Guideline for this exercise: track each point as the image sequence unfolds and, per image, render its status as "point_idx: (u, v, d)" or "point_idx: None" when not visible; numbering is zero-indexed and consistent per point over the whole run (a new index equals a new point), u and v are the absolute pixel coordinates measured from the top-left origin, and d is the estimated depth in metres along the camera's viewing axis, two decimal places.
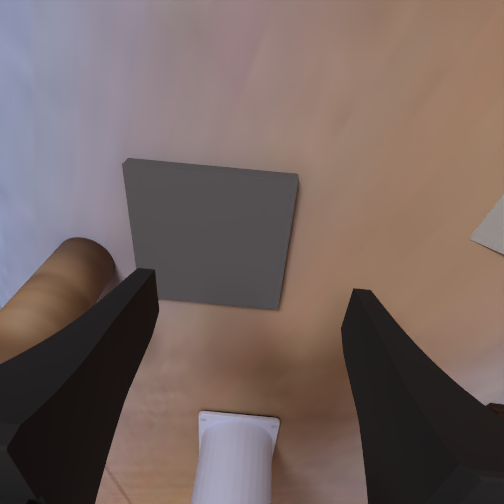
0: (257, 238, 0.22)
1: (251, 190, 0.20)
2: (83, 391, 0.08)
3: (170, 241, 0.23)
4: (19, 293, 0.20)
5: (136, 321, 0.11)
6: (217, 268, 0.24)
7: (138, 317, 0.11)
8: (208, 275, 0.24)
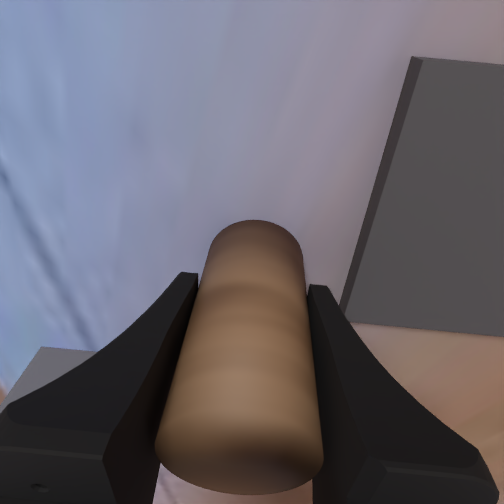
0: None
1: None
2: (149, 398, 0.08)
3: (444, 225, 0.12)
4: (217, 329, 0.09)
5: (184, 326, 0.11)
6: None
7: (185, 322, 0.11)
8: (483, 286, 0.14)
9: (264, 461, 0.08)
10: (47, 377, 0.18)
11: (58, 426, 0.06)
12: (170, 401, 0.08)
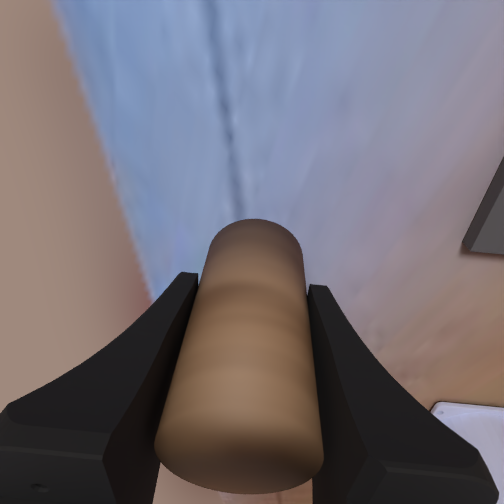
0: None
1: None
2: (149, 398, 0.08)
3: None
4: (217, 328, 0.09)
5: (184, 326, 0.11)
6: None
7: (185, 322, 0.11)
8: None
9: (264, 460, 0.08)
10: None
11: (58, 426, 0.06)
12: (170, 400, 0.08)
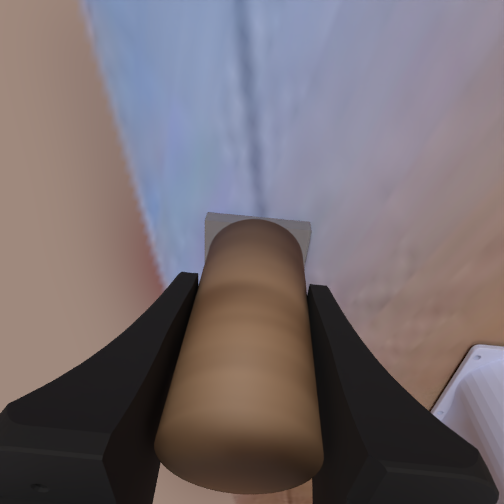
0: None
1: None
2: (149, 398, 0.08)
3: None
4: (217, 328, 0.09)
5: (184, 325, 0.11)
6: None
7: (185, 322, 0.11)
8: None
9: (264, 460, 0.08)
10: None
11: (59, 426, 0.06)
12: (170, 400, 0.08)
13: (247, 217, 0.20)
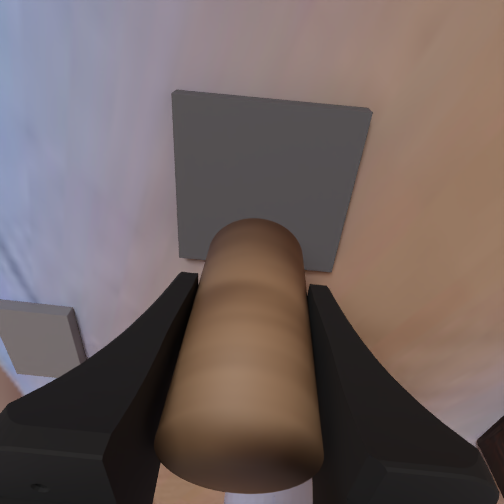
0: (317, 184, 0.20)
1: (317, 125, 0.18)
2: (149, 397, 0.08)
3: (218, 189, 0.20)
4: (217, 327, 0.09)
5: (184, 326, 0.11)
6: None
7: (185, 322, 0.11)
8: None
9: (264, 460, 0.08)
10: (11, 326, 0.28)
11: (59, 426, 0.06)
12: (170, 399, 0.08)
13: (24, 303, 0.28)
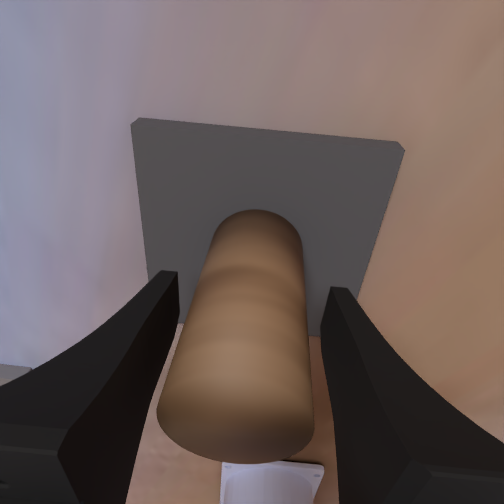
0: (328, 239, 0.15)
1: (329, 166, 0.13)
2: (117, 394, 0.08)
3: (199, 244, 0.16)
4: (217, 306, 0.10)
5: (161, 324, 0.11)
6: None
7: (163, 319, 0.11)
8: None
9: (259, 429, 0.09)
10: None
11: (16, 422, 0.06)
12: (172, 370, 0.09)
13: None
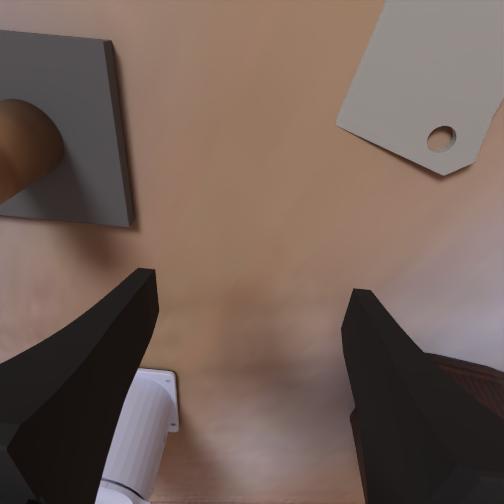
0: (78, 126, 0.19)
1: (52, 57, 0.17)
2: (83, 391, 0.08)
3: None
4: None
5: (136, 321, 0.11)
6: None
7: (138, 317, 0.11)
8: (37, 180, 0.21)
9: None
10: None
11: None
12: None
13: None
